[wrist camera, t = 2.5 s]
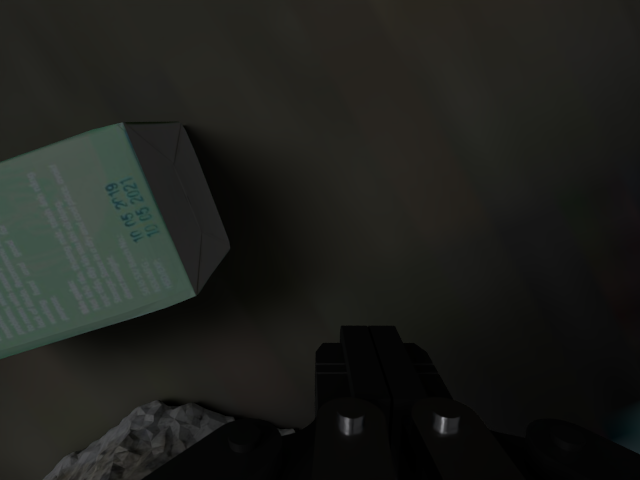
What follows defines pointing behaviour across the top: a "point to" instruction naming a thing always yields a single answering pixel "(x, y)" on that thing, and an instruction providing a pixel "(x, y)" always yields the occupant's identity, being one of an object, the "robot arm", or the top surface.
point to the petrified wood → (142, 443)
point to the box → (102, 232)
